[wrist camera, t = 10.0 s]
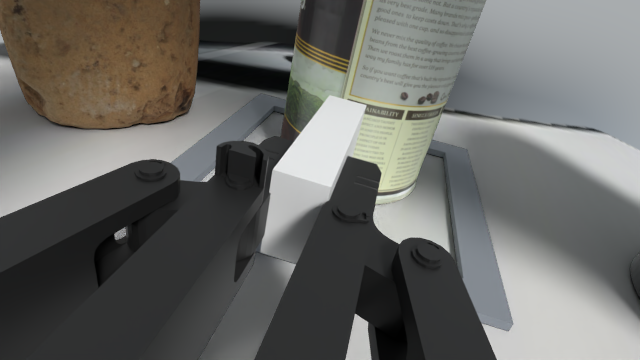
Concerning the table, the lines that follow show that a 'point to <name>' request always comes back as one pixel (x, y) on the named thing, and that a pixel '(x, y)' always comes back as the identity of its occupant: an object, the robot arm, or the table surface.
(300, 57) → the coffee can
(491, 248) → the flat grey frame
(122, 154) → the table surface
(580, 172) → the table surface
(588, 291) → the table surface
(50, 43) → the brown rough upright block
